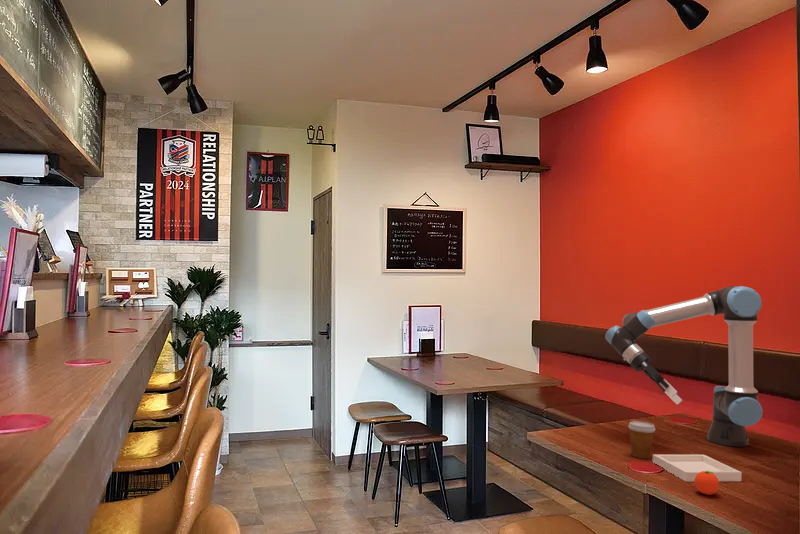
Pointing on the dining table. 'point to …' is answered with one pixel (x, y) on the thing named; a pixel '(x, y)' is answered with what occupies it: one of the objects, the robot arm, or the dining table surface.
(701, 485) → the clementine
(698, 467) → the cream tray
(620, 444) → the dining table surface
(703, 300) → the robot arm
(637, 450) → the disposable coffee cup
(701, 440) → the dining table surface
